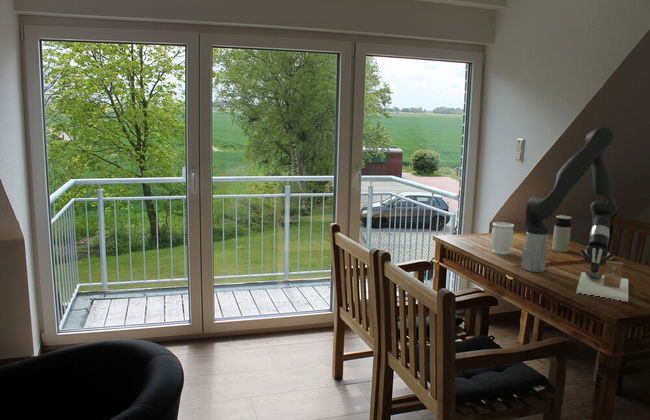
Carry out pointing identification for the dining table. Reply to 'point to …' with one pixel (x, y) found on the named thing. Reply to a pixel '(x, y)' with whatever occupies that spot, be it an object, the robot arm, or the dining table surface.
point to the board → (602, 287)
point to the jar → (502, 237)
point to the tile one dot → (594, 274)
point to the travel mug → (561, 234)
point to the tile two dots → (613, 274)
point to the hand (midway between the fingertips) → (594, 272)
